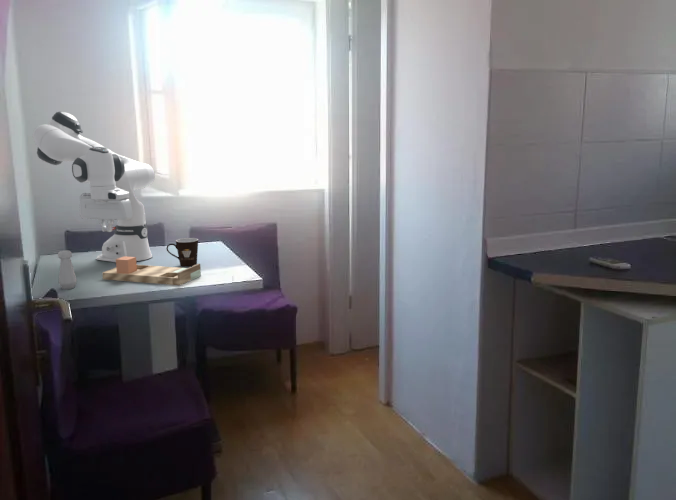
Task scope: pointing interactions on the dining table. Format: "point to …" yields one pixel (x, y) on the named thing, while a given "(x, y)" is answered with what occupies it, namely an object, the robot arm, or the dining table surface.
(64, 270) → the salt shaker
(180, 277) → the trap box
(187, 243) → the coffee mug
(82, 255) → the dining table surface
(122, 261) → the block
